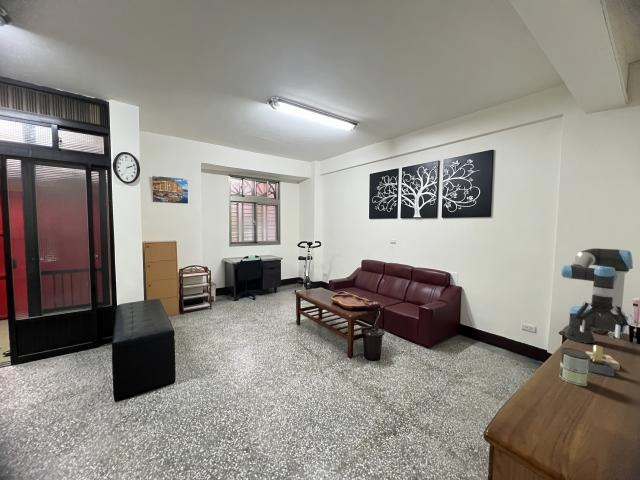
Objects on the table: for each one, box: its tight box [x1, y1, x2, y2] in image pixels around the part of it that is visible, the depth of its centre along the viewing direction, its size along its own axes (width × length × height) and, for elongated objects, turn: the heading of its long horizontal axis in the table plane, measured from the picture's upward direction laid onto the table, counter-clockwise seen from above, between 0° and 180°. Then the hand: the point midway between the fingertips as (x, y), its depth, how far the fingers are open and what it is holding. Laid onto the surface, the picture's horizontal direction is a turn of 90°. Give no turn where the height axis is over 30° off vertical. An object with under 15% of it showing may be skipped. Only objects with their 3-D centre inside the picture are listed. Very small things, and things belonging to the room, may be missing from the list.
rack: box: [585, 350, 621, 371], centre depth 149 cm, size 12×10×4 cm
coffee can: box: [558, 347, 590, 387], centre depth 130 cm, size 10×10×14 cm
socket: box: [588, 358, 615, 378], centre depth 142 cm, size 10×10×4 cm
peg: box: [592, 344, 604, 365], centre depth 141 cm, size 4×4×13 cm
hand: (599, 334), depth 141 cm, fingers open, 13 cm apart
